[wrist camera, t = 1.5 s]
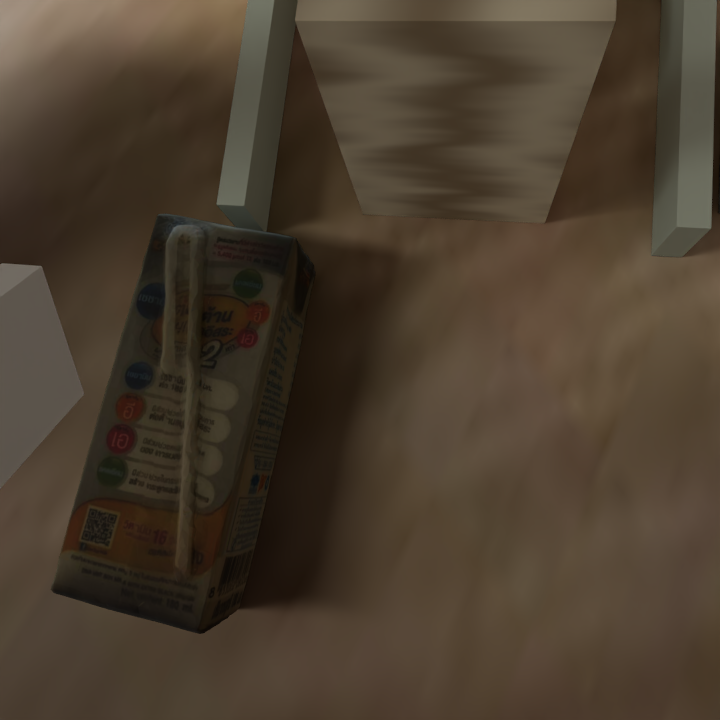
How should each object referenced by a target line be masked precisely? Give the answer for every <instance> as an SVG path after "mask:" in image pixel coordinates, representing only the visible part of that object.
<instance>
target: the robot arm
mask: <svg viewBox="0 0 720 720" xmlns="http://www.w3.org/2000/svg"><path fill="white" fill-rule="evenodd" d="M83 395H84V392H83V389H82V386H81V383H80V380H79V377H78V374H77V371H76V368H75V365H74V362H73V359H72V356H71V353H70V350H69V347H68V344H67V341H66V338H65V335H64V332H63V329H62V326H61V323H60V320H59V317H58V314H57V311H56V308H55V305H54V302H53V299H52V296H51V293H50V290H49V287H48V284H47V281H46V278H45V275H44V272H43V269H42V266H34V265H20V264H6V263H2V264H0V488H1V487H2V486H3V485H4V484H5V483H6V482H7V481H8V479H9V478H10V477H11V476H12V475H13V474H14V473H15V472H16V470H17V469H18V468H19V467H20V466H21V465H22V464H23V463H24V461H25V460H26V459H27V458H28V457H29V456H30V455H31V454H32V452H33V451H34V450H35V449H36V448H37V447H38V446H39V445H40V443H41V442H42V441H43V440H44V439H45V438H46V437H47V436H48V434H49V433H50V432H51V431H52V430H53V429H54V428H55V427H56V425H57V424H58V423H59V422H60V421H61V420H62V419H63V417H64V416H65V415H66V414H67V413H68V412H69V411H70V410H71V408H72V407H73V406H74V405H75V404H76V403H77V402H78V401H79V399H80V398H81V397H82V396H83Z"/></svg>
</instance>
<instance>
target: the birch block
mask: <svg viewBox="0 0 720 720" xmlns="http://www.w3.org/2000/svg"><path fill="white" fill-rule="evenodd" d="M616 4H617V0H298V3H297V10H296V17H295V22H296V25H297V28H298V31H299V34H300V37H301V39H302V42H303V45H304V48H305V51H306V54H307V57H308V59H309V62H310V65H311V68H312V71H313V74H314V76H315V79H316V82H317V85H318V88H319V91H320V94H321V96H322V99H323V102H324V105H325V108H326V111H327V113H328V116H329V119H330V122H331V125H332V128H333V131H334V133H335V136H336V139H337V142H338V145H339V148H340V150H341V153H342V156H343V159H344V162H345V165H346V168H347V170H348V173H349V176H350V179H351V182H352V185H353V187H354V190H355V193H356V196H357V199H358V202H359V205H360V207H361V210H362V213H363V215H384V216H404V217H424V218H445V219H465V220H485V221H506V222H526V223H545V221H546V219H547V216H548V213H549V210H550V207H551V204H552V201H553V199H554V196H555V193H556V190H557V187H558V184H559V181H560V179H561V176H562V173H563V170H564V167H565V164H566V161H567V159H568V156H569V153H570V150H571V147H572V144H573V141H574V139H575V136H576V133H577V130H578V127H579V124H580V121H581V119H582V116H583V113H584V110H585V107H586V104H587V101H588V99H589V96H590V93H591V90H592V87H593V84H594V81H595V79H596V76H597V73H598V70H599V67H600V64H601V61H602V59H603V56H604V53H605V50H606V47H607V44H608V41H609V38H610V36H611V33H612V30H613V27H614V24H615V21H616Z"/></svg>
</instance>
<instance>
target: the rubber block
mask: <svg viewBox="0 0 720 720" xmlns="http://www.w3.org/2000/svg"><path fill="white" fill-rule="evenodd" d="M718 213H720V165H719V210H718Z"/></svg>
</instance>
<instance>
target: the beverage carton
mask: <svg viewBox="0 0 720 720" xmlns="http://www.w3.org/2000/svg"><path fill="white" fill-rule="evenodd" d="M314 278H315V271H314V265H313V264H312V262H311V261H310V259H309V257H308V256H307V255H306V254H305V253H304V252H303V250H302V248H301V246H300V244H299V243H298V241H297V239H296V238H295V237H291V236H286V235H281V234H276V233H270V232H263V231H258V230H252V229H244V228H238V227H232V226H227V225H222V224H217V223H214V222H208V221H202V220H198V219H194V218H188V217H183V216H178V215H171V214H158V216H157V218H156V222H155V226H154V230H153V233H152V236H151V240H150V243H149V246H148V248H147V251H146V254H145V256H144V260H143V265H142V270H141V273H140V276H139V279H138V282H137V285H136V288H135V291H134V294H133V298H132V302H131V306H130V309H129V313H128V316H127V319H126V323H125V326H124V329H123V332H122V335H121V339H120V344H119V347H118V350H117V353H116V358H115V362H114V365H113V368H112V372H111V375H110V378H109V381H108V385H107V388H106V391H105V395H104V398H103V402H102V405H101V408H100V412H99V415H98V419H97V423H96V427H95V430H94V434H93V438H92V441H91V445H90V448H89V451H88V455H87V458H86V462H85V466H84V469H83V473H82V477H81V481H80V484H79V488H78V491H77V495H76V498H75V502H74V506H73V509H72V513H71V516H70V520H69V524H68V527H67V531H66V535H65V538H64V542H63V546H62V549H61V553H60V556H59V562H58V566H57V571H56V575H55V578H54V581H53V584H52V587H51V590H52V591H53V593H56V594H60V595H63V596H66V597H70V598H73V599H76V600H80V601H83V602H86V603H89V604H93V605H96V606H99V607H102V608H106V609H109V610H113V611H117V612H121V613H124V614H128V615H132V616H136V617H140V618H144V619H148V620H152V621H156V622H160V623H163V624H166V625H170V626H173V627H177V628H180V629H184V630H187V631H191V632H195V633H199V634H201V633H205V632H206V631H208V630H210V629H211V628H213V627H214V626H216V625H217V624H219V623H220V622H221V621H223V620H225V619H227V618H228V617H229V615H231V614H233V613H234V612H235V611H236V610H237V609H238V608H239V607H240V603H241V599H242V595H243V592H244V588H245V585H246V582H247V578H248V574H249V570H250V566H251V562H252V558H253V554H254V550H255V546H256V541H257V537H258V533H259V529H260V524H261V520H262V516H263V512H264V507H265V503H266V499H267V494H268V489H269V484H270V479H271V476H272V472H273V468H274V462H275V458H276V454H277V450H278V445H279V441H280V436H281V432H282V427H283V423H284V418H285V414H286V409H287V405H288V401H289V397H290V392H291V388H292V384H293V379H294V374H295V369H296V364H297V360H298V355H299V351H300V346H301V341H302V336H303V330H304V324H305V318H306V312H307V308H308V304H309V299H310V294H311V289H312V285H313V281H314Z"/></svg>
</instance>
